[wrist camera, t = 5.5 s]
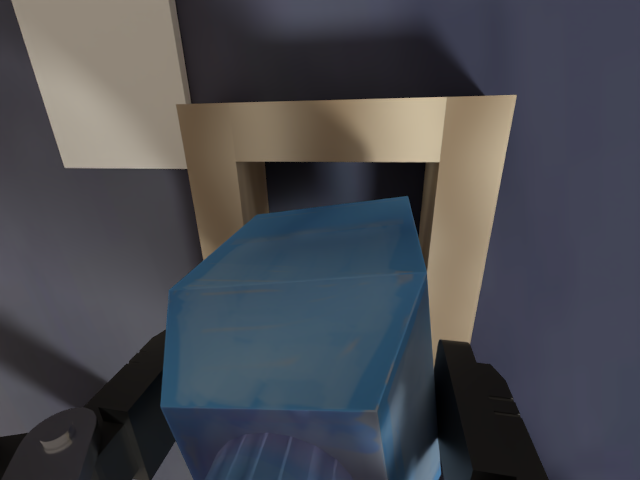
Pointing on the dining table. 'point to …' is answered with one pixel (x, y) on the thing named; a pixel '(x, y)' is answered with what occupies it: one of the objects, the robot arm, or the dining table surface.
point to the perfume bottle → (306, 350)
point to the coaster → (109, 79)
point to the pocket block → (364, 146)
